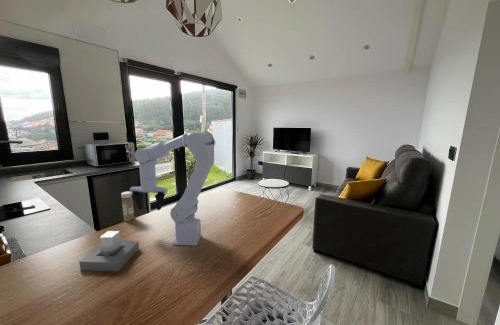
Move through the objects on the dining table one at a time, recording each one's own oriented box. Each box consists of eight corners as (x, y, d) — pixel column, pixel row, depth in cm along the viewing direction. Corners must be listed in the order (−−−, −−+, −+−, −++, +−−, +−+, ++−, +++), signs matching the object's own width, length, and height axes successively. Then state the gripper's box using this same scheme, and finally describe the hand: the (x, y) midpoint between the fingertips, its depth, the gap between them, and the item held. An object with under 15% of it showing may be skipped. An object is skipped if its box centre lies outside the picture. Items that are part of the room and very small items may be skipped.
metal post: (121, 254, 74) (119, 231, 72) (114, 262, 70) (112, 237, 68) (110, 254, 74) (107, 231, 72) (102, 262, 70) (99, 237, 68)
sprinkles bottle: (135, 220, 100) (132, 193, 97) (123, 222, 97) (121, 194, 95) (134, 216, 104) (131, 190, 101) (123, 218, 101) (120, 191, 99)
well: (138, 248, 78) (138, 241, 77) (118, 271, 66) (117, 262, 65) (106, 247, 78) (105, 240, 77) (80, 270, 66) (79, 261, 65)
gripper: (169, 175, 89) (171, 205, 91) (135, 174, 89) (137, 204, 92) (162, 179, 82) (164, 212, 85) (125, 178, 82) (128, 211, 85)
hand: (150, 209), depth 88 cm, fingers open, 7 cm apart
